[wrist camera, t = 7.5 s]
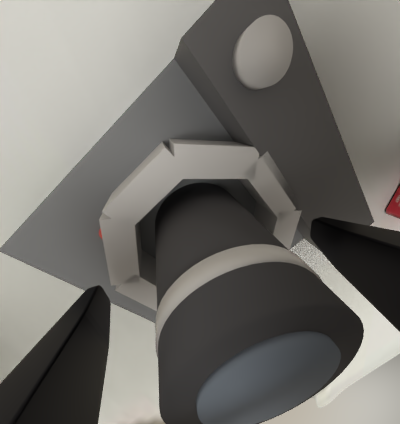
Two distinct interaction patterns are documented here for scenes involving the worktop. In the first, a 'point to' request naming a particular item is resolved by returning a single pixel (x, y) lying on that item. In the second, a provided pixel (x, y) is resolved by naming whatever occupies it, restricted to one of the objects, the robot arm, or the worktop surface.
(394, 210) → the ink box
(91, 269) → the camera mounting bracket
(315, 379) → the lens
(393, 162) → the worktop surface
